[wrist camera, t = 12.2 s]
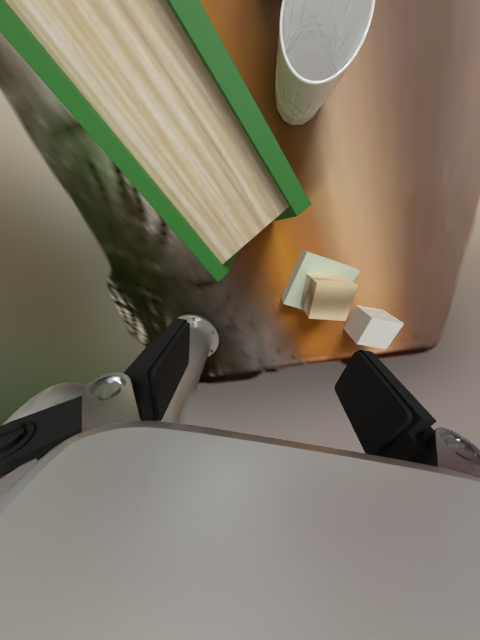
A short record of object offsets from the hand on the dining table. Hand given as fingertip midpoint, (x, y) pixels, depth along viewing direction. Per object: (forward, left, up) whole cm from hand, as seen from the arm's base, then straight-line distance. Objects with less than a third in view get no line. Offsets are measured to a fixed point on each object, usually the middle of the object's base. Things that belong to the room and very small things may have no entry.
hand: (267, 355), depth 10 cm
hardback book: (+11, +8, -29) cm, 32 cm away
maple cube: (-2, -12, -25) cm, 28 cm away
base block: (-2, -12, -29) cm, 31 cm away
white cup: (+23, -1, -28) cm, 37 cm away
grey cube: (-8, -25, -28) cm, 39 cm away
